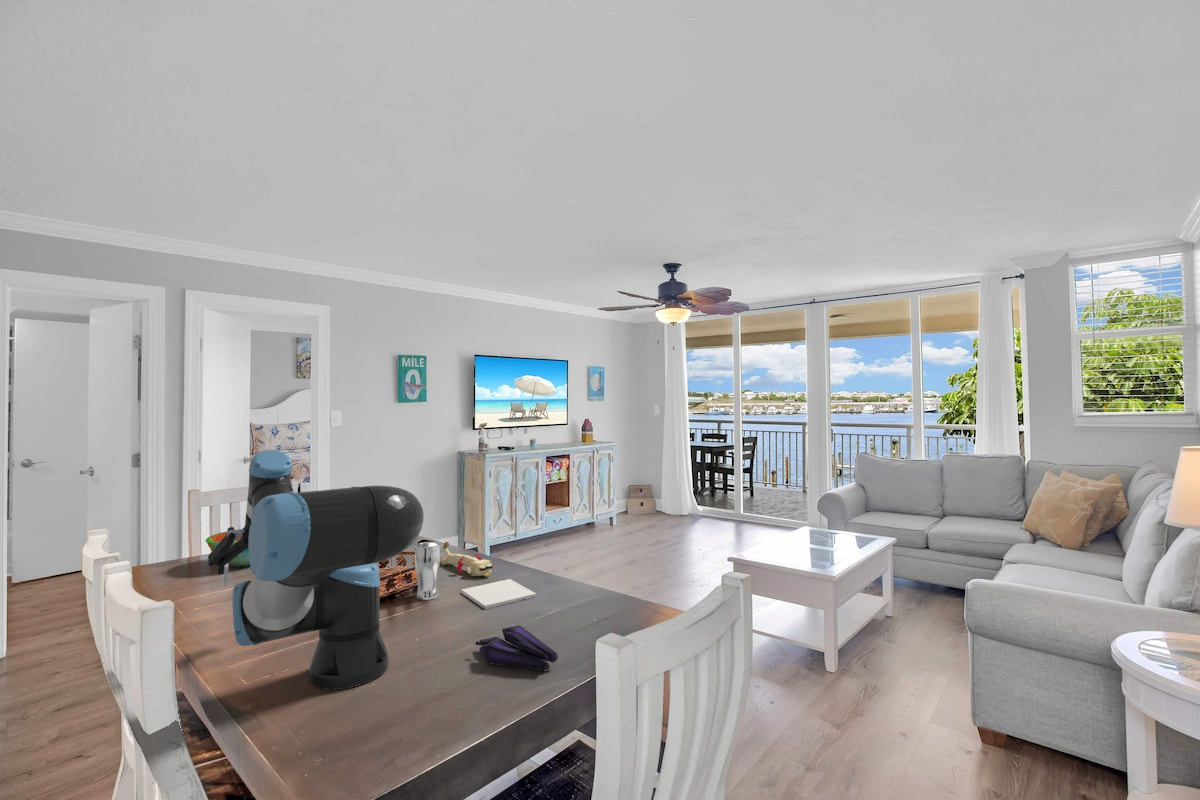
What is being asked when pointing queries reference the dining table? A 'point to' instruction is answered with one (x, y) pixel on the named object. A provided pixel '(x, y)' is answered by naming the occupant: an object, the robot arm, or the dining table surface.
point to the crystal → (517, 649)
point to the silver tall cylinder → (427, 569)
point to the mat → (497, 593)
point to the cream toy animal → (467, 563)
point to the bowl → (238, 560)
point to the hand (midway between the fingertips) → (259, 575)
